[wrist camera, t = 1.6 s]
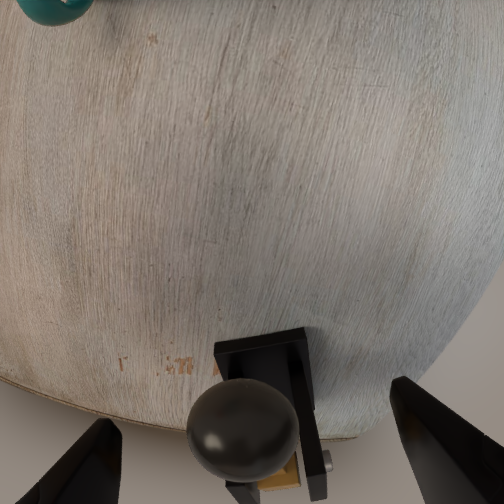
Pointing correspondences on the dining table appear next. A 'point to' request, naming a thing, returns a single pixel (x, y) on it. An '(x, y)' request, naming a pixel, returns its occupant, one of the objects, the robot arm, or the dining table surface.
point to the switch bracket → (291, 386)
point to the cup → (54, 10)
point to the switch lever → (246, 434)
